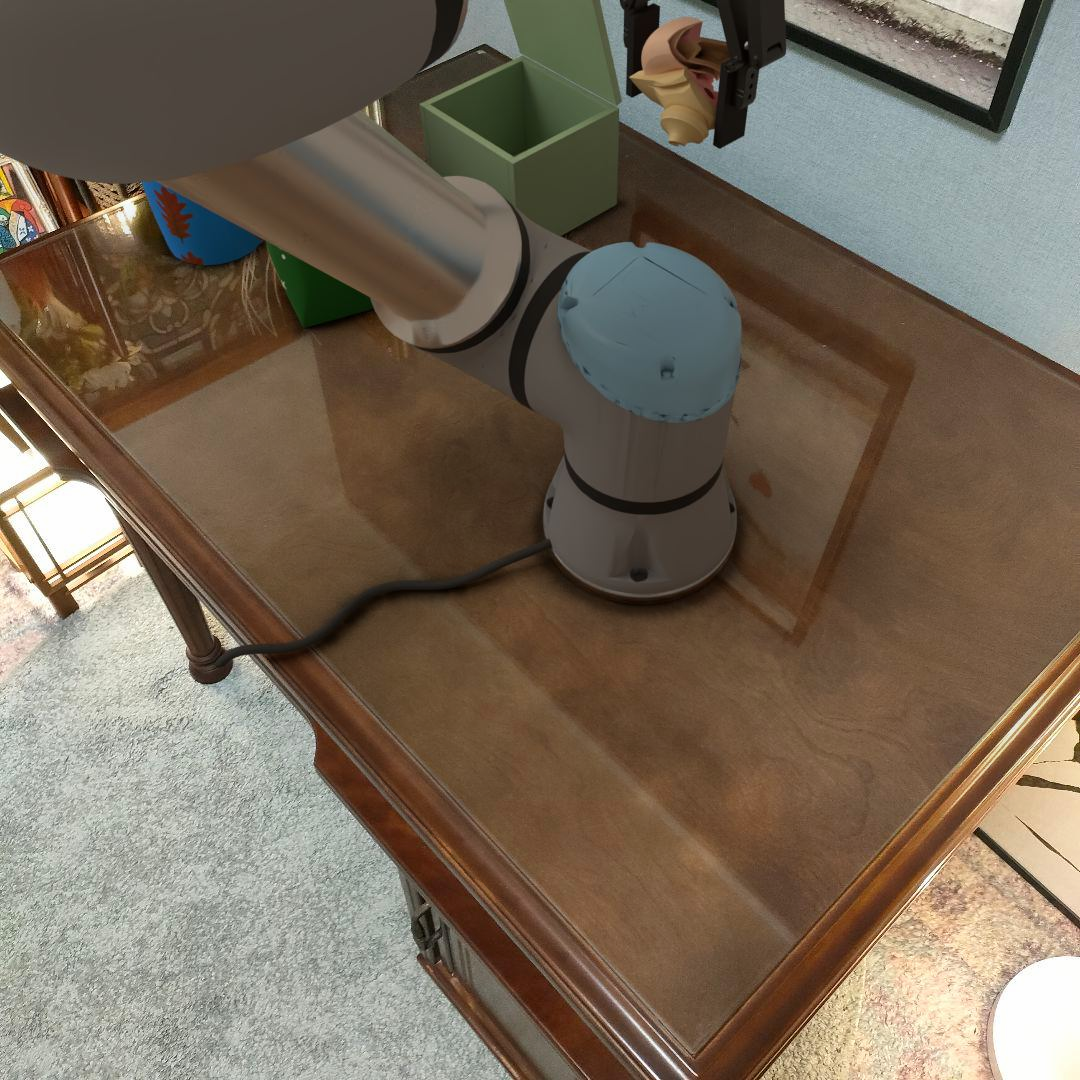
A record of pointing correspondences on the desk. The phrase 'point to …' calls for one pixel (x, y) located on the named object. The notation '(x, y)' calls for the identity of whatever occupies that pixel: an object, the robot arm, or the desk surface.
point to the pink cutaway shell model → (682, 78)
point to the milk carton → (315, 290)
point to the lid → (567, 41)
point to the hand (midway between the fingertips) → (683, 114)
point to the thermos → (197, 229)
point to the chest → (528, 142)
